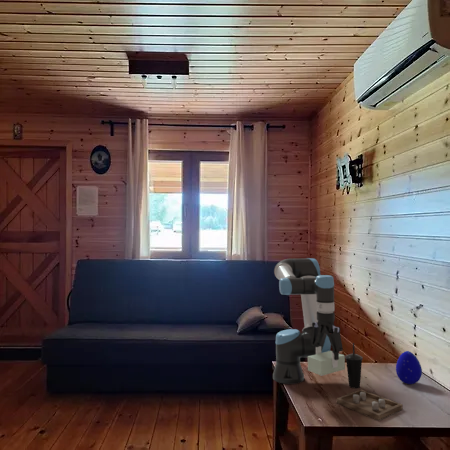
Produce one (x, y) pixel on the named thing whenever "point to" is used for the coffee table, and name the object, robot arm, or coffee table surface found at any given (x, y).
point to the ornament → (408, 368)
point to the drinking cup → (354, 369)
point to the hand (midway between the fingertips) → (326, 364)
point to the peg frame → (370, 404)
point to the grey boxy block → (324, 363)
